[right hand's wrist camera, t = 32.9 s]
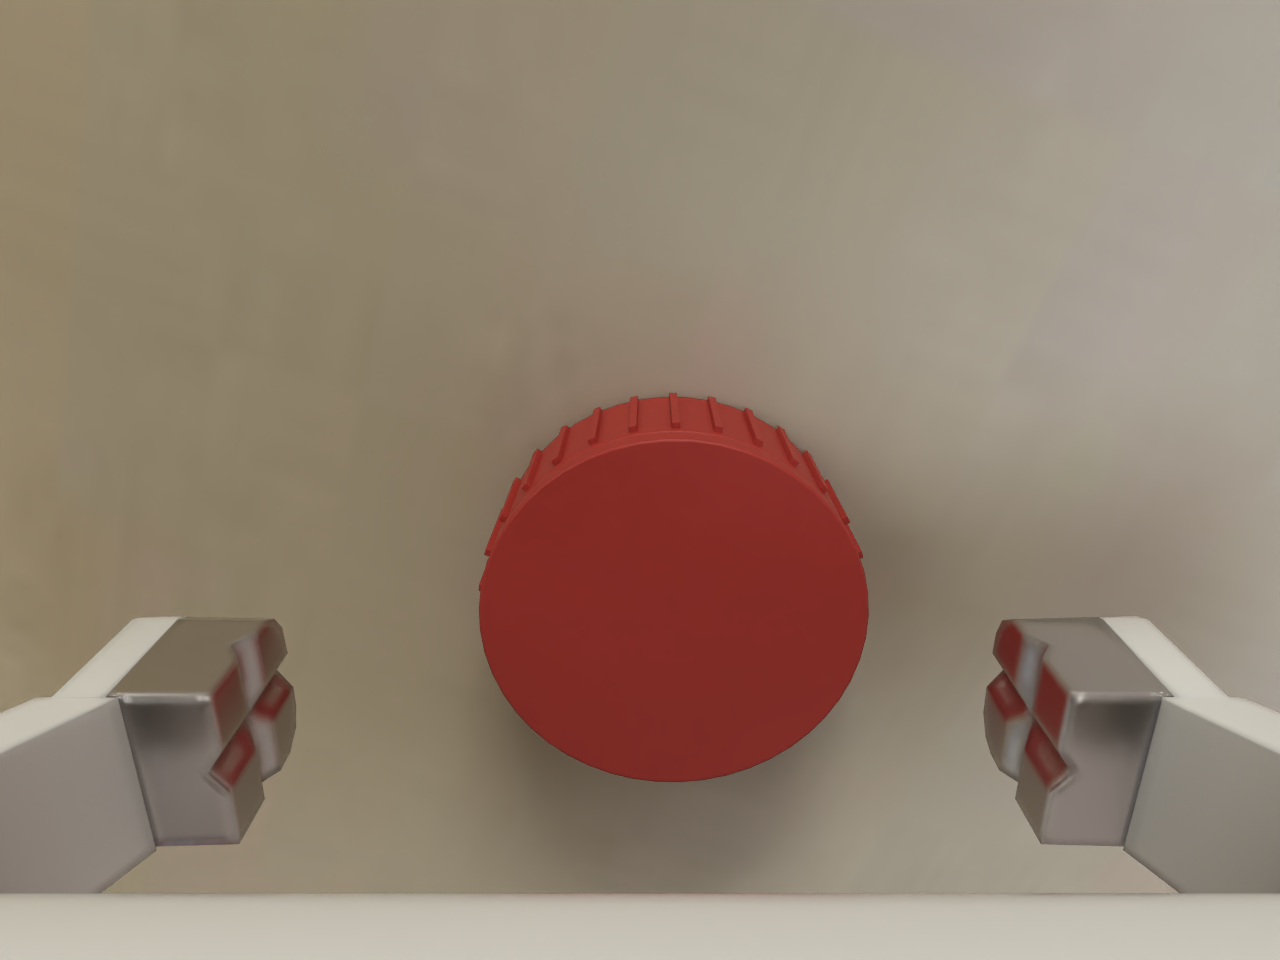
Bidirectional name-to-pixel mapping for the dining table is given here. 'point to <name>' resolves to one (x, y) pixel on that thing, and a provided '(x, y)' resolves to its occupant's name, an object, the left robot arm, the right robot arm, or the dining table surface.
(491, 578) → the lid
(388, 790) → the dining table surface
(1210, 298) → the dining table surface
